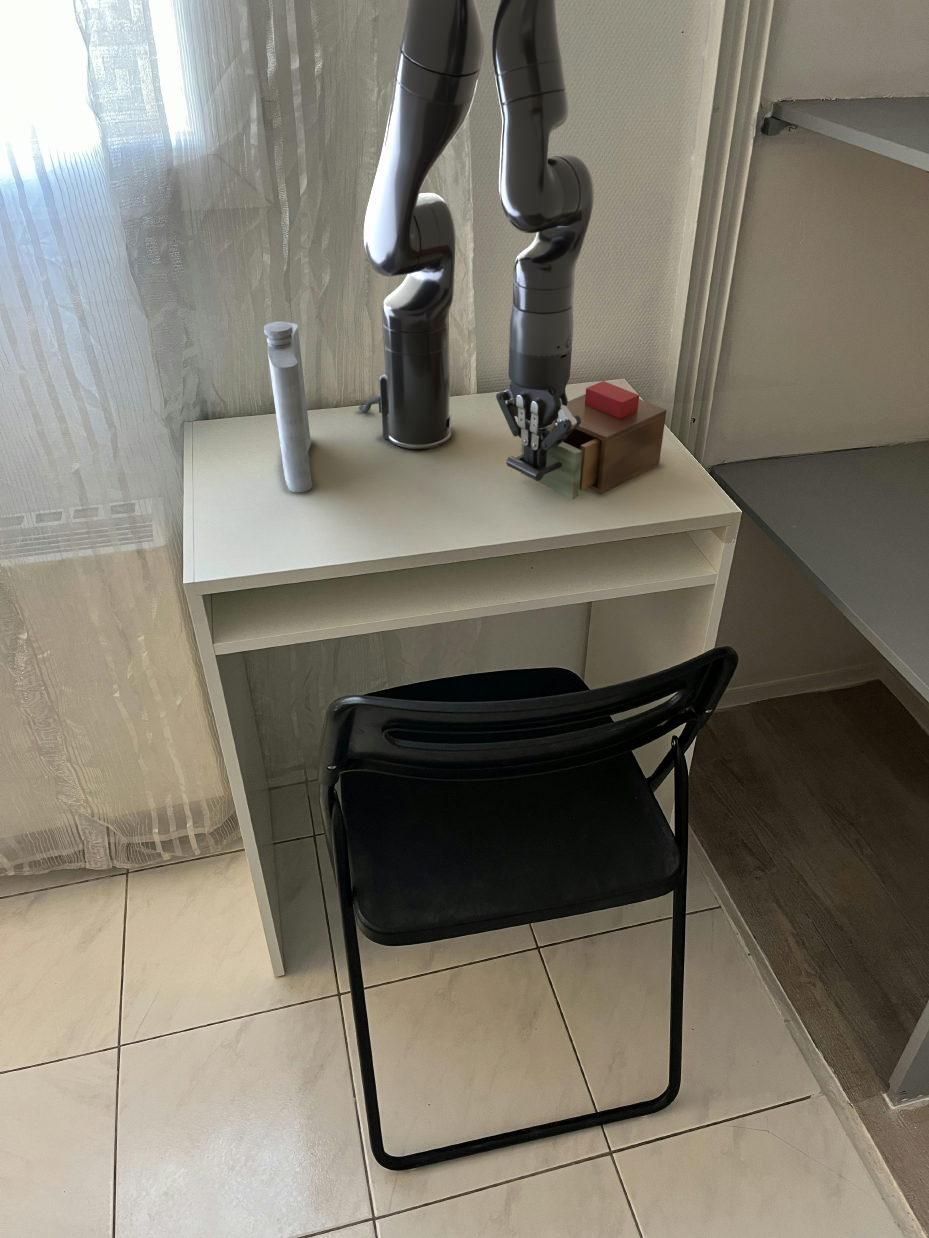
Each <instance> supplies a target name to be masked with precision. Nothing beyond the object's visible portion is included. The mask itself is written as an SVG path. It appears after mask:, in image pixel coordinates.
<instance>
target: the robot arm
mask: <svg viewBox="0 0 929 1238" xmlns="http://www.w3.org/2000/svg"><path fill="white" fill-rule="evenodd" d="M556 4H557V3H556V0H498V4H497V7H496V11H495V18H494V22H493V28H492V29H493V30H492V40H491V41H492V42H491V43H492V44H491V51H492V52H491V53H492V55H491V56H492V64H493V71H494V77H495V84H496V90H497V95H498V102H499V106H500V114H501V120H502V125H501V137H500V155H499V172H498V173H499V174H498V175H499V176H498V192H499V198H500V205H501V207H502V211H503V212H504V215H505V217H506V218H507V221H508V222H509V223H510V224H511V225H512V227H513V228H515V229H516V230H517V231H518V232H521V233H523V234H527V235H528V234H529V235H531V234H535V237H534V240H533V241H532V242H531V244H529V246H527V247H526V248H524V249H523V250H522V251H520V252H519V253H518V255H517V256H516V258H515V260H514V262H513V263H514V264H513V273H512V274H513V276H512V305H511V312H510V319H509V336H508V337H509V338H508V339H509V340H508V341H509V342H508V369H507V370H508V372H507V374H508V379H509V380H510V383H509V388H507V389H505V390H503V391H500V392H497V393H496V396H495V398H496V400H497V403H498V406H499V407H500V410H501V413H502V414H503V417H504V418H505V421H506V424H507V425H508V428H509V430H510V432H511V434H512V436H513V437H514V438H515V437H518V438H519V439H520V441H521V445H522V444H523V445H524V453H523V457H524V458H523V462H525V463H527V464H529V465H531V466H533V467H535V468H537V469H539V470H541V469H543V468H545V467H546V463H547V462H546V461H547V450H548V449H550V448H552V447H554V446H557V445H559V444H561V443H562V442H563V441H564V440H565V439H566V438H567V437H568V436H569V434H570V433H571V432H572V431H573V430H574V429H575V428H576V427H577V426H578V425H579V424H580V423H581V419H580V417H579V416H578V415H575V416H572V414H571V413H570V411H569V410H568V408H567V407H566V406H567V403H568V401H569V399H568V395H567V392H566V389H567V388H566V387H567V386H568V383H569V381H570V378H571V369H572V368H571V367H572V353H573V340H574V339H573V337H574V309H573V307H574V305H573V304H574V291H575V271H576V266H577V263H578V260H579V257H580V255H581V252H582V248H583V245H584V242H585V238H586V236H587V232H588V228H589V225H590V222H591V219H592V218H591V217H592V213H593V208H594V201H595V188H594V182H593V178H592V175H591V171H590V170H589V167H588V166H587V164H586V163H585V162H584V160H583V159H582V158H580V157H578V156H577V155H574V154H570V153H562V154H557V155H552V156H549V145H550V144H549V143H550V137H551V136H550V135H551V133H552V132H554V130H556V129H558V128H560V127H561V126H562V125H564V124H565V122H567V119H568V116H569V101H568V93H567V86H566V80H565V78H566V77H565V71H564V65H563V57H562V51H561V44H560V43H561V42H560V35H559V25H558V15H557V5H556ZM405 8H406V9H405V15H404V20H403V25H402V29H401V30H402V31H401V34H400V38H399V45H398V46H399V47H398V53H397V58H396V64H395V65H396V66H395V71H394V78H393V88H392V94H391V95H392V96H391V102H390V106H389V107H390V108H389V113H388V118H387V124H386V129H385V134H384V140H383V144H382V150H381V154H380V158H379V161H378V166H377V169H376V173H375V177H374V182H373V186H372V188H371V193H370V196H369V201H368V204H367V208H366V213H365V218H364V227H363V244H364V250H365V255H366V259H367V261H368V262H369V265H370V267H371V268H372V270H373V271H375V273H377V274H378V275H380V276H383V277H386V278H394V277H403V276H406V277H405V279H404V280H403V281H402V282H401V284H400V285H399V286H398V287H397V288H395V290H393V291H392V292H391V293H390V294H388V295H387V296H386V297H385V298H384V299H383V301H382V303H381V311H380V312H381V327H382V328H381V329H382V345H383V346H382V347H383V364H384V372H383V373H382V374H381V375H380V376H379V396H372V397H370V398H368V399H367V401H366V402H365V404H360V405H359V407H358V409H359V411H361V412H363V413H367V412H369V411H370V409H372V408H371V407H372V405H374V404H376V403H377V404H378V413H379V414H381V429H382V439H385V440H387V441H390V443H392V444H393V445H396V446H398V447H401V448H404V449H410V450H426V449H433V448H436V447H439V446H441V445H443V444H445V443H447V442H448V441H449V440H450V439H451V436H452V428H451V424H452V416H451V385H450V383H451V381H450V375H451V373H450V371H451V370H450V310H451V307H452V305H453V301H454V296H455V295H454V293H455V291H454V289H455V269H456V245H457V244H456V243H457V241H456V228H455V223H454V218H453V215H452V212H451V210H450V208H449V206H448V203H447V202H446V201H445V199H444V198H442V197H441V196H440V195H438V194H436V193H432V192H425V193H424V192H423V193H421V190H422V187H423V185H424V183H425V180H426V178H427V177H428V175H429V173H430V171H431V169H432V168H433V166H434V165H435V163H436V162H437V161H438V159H439V158H440V157H441V156H442V154H443V152H444V151H445V150H446V148H448V145H449V144H450V143H451V142H452V141H453V139H454V138H455V136H456V135H457V133H458V132H459V131H460V129H461V127H462V125H463V124H464V122H465V120H466V118H467V117H468V115H469V113H470V110H471V108H472V105H473V101H474V98H475V94H476V89H477V85H478V81H479V76H480V72H481V67H482V63H483V57H484V50H485V41H484V39H485V38H484V30H483V25H482V24H483V23H482V20H481V15H480V12H479V9H478V3H477V1H476V0H407V2H406V7H405ZM516 417H517V419H516ZM557 417H558V419H557V422H556V418H557ZM555 425H556V426H557V427H556V428H555V429H554V427H555ZM553 429H554V430H553ZM552 430H553V431H552ZM541 435H542V437H541Z"/></svg>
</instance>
